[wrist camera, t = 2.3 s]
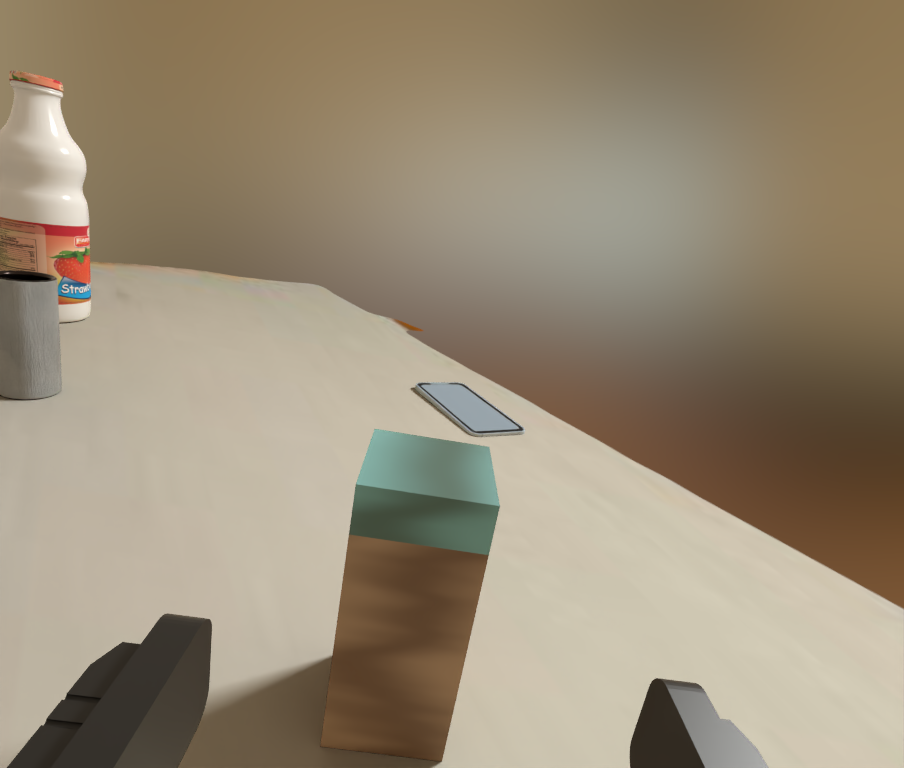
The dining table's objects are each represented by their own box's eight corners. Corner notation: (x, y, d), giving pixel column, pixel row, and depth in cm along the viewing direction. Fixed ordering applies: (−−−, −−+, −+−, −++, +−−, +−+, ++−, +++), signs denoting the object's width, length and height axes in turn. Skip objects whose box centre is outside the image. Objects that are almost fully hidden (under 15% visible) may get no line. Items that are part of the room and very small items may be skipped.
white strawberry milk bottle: (12, 303, 72) (-3, 71, 64) (96, 310, 76) (92, 92, 68) (-10, 320, 64) (-31, 57, 56) (84, 326, 68) (78, 82, 60)
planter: (56, 380, 51) (51, 271, 48) (66, 396, 48) (62, 282, 45) (-6, 384, 48) (-16, 268, 45) (1, 402, 45) (-9, 279, 42)
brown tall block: (320, 746, 22) (355, 484, 18) (343, 651, 27) (374, 428, 23) (441, 761, 22) (499, 506, 19) (442, 664, 27) (489, 447, 23)
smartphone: (473, 434, 56) (412, 382, 68) (471, 443, 56) (411, 389, 68) (529, 431, 60) (462, 382, 72) (527, 439, 60) (461, 389, 72)
